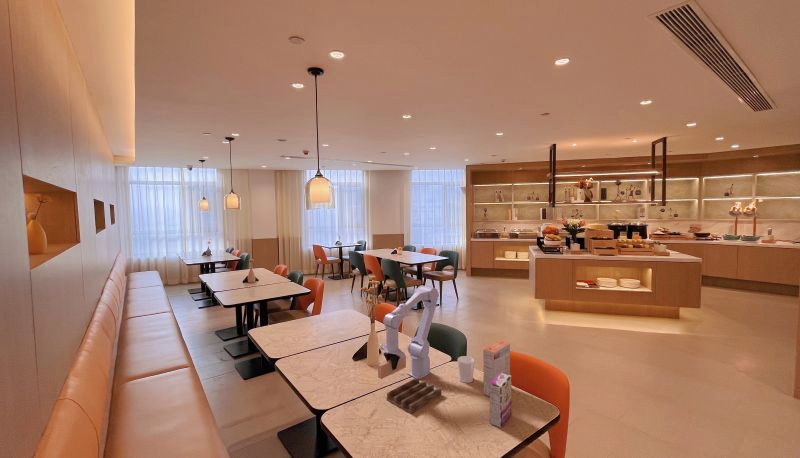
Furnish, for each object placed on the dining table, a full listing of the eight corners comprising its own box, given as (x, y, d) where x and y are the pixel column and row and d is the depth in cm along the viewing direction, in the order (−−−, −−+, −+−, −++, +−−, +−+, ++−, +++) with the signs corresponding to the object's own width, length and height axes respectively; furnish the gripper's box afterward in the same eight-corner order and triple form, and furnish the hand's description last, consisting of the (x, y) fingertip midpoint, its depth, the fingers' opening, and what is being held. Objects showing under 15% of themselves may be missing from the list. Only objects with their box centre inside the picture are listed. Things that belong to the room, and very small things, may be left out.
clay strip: (402, 366, 171) (402, 354, 171) (405, 367, 170) (405, 355, 169) (378, 377, 160) (378, 364, 159) (381, 379, 158) (381, 366, 158)
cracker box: (498, 383, 167) (499, 340, 166) (510, 387, 163) (511, 343, 162) (482, 394, 158) (482, 348, 156) (494, 399, 153) (494, 352, 152)
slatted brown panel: (417, 383, 167) (417, 376, 167) (441, 394, 157) (441, 387, 157) (387, 400, 153) (386, 393, 153) (410, 413, 143) (410, 406, 143)
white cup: (461, 374, 176) (462, 354, 176) (476, 378, 172) (476, 358, 171) (454, 380, 170) (454, 360, 169) (469, 385, 165) (470, 364, 165)
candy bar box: (499, 410, 145) (500, 371, 144) (511, 414, 142) (512, 375, 141) (488, 424, 136) (489, 382, 135) (501, 428, 133) (501, 386, 132)
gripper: (375, 338, 166) (375, 366, 167) (397, 346, 156) (397, 376, 157) (386, 334, 171) (386, 361, 172) (408, 342, 161) (408, 371, 162)
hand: (392, 368), depth 165 cm, fingers closed on clay strip, 2 cm apart
